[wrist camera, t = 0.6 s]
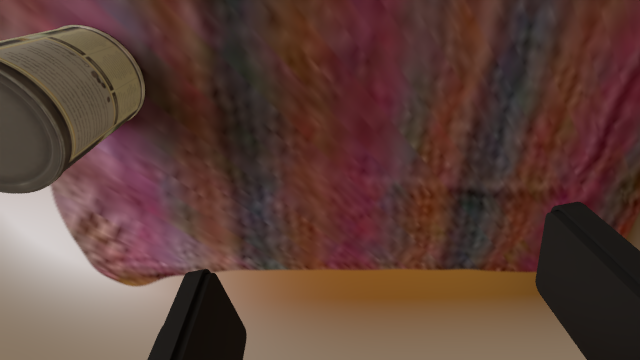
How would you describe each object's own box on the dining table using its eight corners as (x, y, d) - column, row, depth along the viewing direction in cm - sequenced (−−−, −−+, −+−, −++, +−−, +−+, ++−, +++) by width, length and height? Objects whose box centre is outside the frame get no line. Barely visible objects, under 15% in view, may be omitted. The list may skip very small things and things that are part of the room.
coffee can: (125, 141, 39) (41, 216, 27) (28, 87, 35) (-118, 145, 23) (163, 68, 35) (84, 118, 23) (58, -1, 31) (-101, 14, 19)
